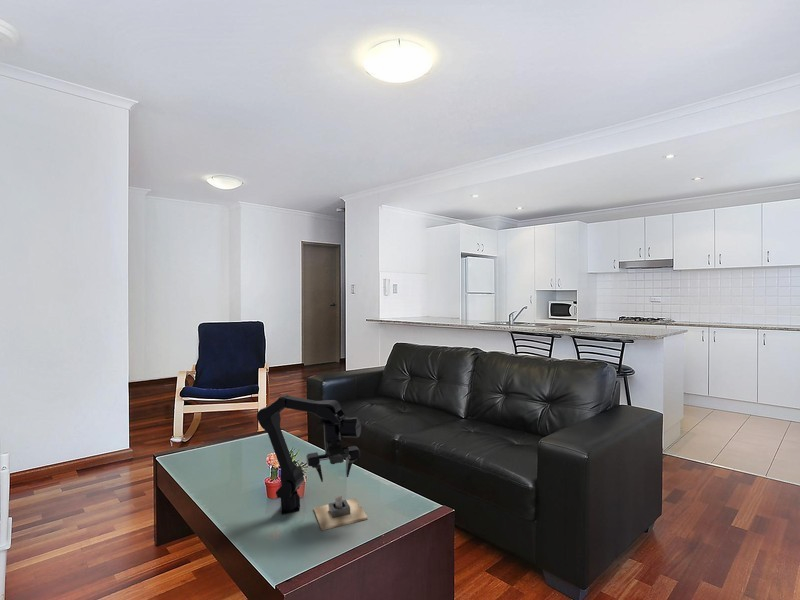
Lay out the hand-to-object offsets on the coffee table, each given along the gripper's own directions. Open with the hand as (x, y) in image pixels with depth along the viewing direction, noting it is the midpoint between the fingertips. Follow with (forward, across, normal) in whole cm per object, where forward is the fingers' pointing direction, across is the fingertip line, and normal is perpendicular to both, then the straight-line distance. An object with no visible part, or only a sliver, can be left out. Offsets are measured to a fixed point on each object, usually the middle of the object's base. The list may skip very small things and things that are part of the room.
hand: (334, 479), depth 162 cm
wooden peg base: (+12, +1, -3) cm, 12 cm away
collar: (+11, +1, -3) cm, 11 cm away
